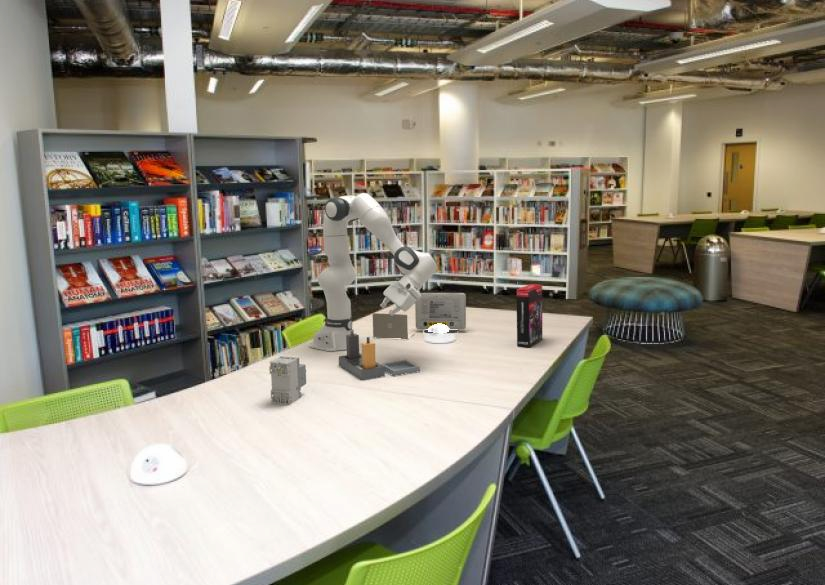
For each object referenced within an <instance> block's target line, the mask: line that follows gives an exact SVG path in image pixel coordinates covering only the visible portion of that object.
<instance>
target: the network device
mask: <svg viewBox="0 0 825 585" xmlns="http://www.w3.org/2000/svg"><path fill="white" fill-rule="evenodd" d="M420 294H421V297H420V299H416V302H415V303H414V308H415V309H414V310H415V316H414V318H415V328H416V329H417V330H424V329H428V328H429V327H430V326H432V325H434V324H437V323H442V324H445V325H447V326H448V327H449V328H450V329H458V330H457V331H456V332H457V333H458V332H459V333H460V330H465V329H466V328H467V327H466V326H467V296H466V295H467V294H466V293H464V292H420Z"/></svg>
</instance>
